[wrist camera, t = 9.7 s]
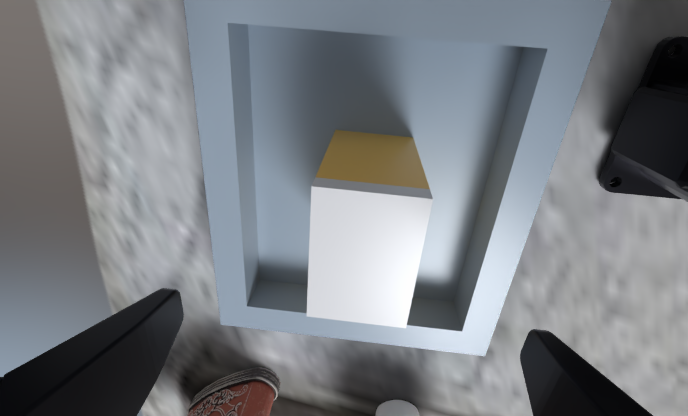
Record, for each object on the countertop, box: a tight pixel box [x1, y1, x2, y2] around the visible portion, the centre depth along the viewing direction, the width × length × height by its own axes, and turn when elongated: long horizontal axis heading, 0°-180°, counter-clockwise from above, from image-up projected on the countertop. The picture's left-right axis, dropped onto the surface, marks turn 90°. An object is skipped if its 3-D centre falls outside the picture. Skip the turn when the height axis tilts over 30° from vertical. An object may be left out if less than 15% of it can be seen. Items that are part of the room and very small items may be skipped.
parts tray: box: [184, 0, 612, 356], centre depth 17 cm, size 14×16×3 cm
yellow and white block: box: [307, 130, 433, 328], centre depth 14 cm, size 4×5×6 cm
